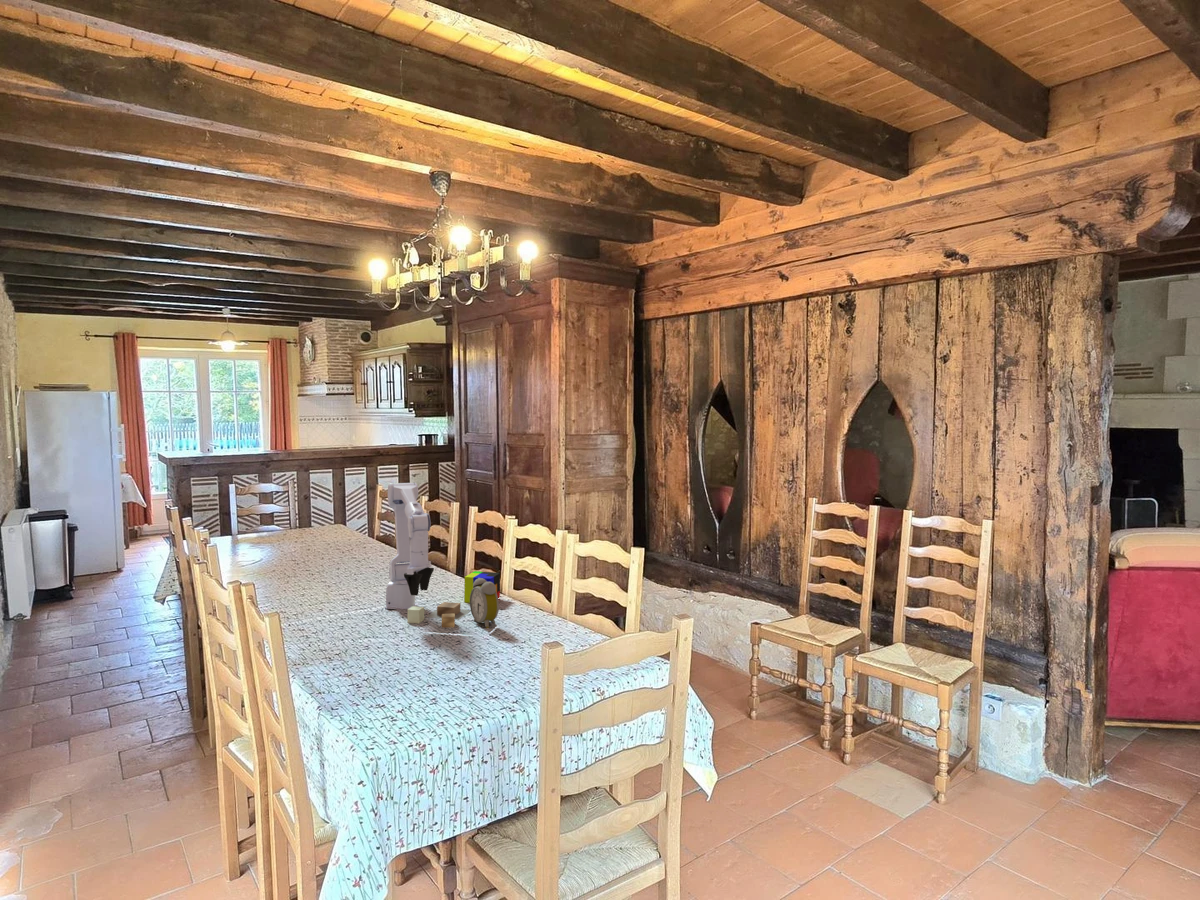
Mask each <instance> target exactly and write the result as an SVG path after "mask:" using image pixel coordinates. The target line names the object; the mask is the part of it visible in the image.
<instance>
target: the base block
mask: <svg viewBox="0 0 1200 900" xmlns="http://www.w3.org/2000/svg"><path fill="white" fill-rule="evenodd" d="M460 609H461V603H460V602H451V601H450V602H447V601H443V602H442V603H441V604H439V605H437V607H436V610H437V615H439V616H442V614H455V615H457V614H458V613H459V612H460Z"/></svg>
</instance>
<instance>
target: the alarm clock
mask: <svg viewBox="0 0 1200 900" xmlns="http://www.w3.org/2000/svg"><path fill="white" fill-rule="evenodd" d="M469 608H470V609H469V610H471V611H470V612H471V615H472V618H473V622H477V623H483V624H484V626H485V629H489V626H490V623H492V624H495V623H496V621H495V620H496V618H497V616H498V614H499V611H500V600H498V596H497V593H496V586H495V584H494V583H492V582H487V581H486V580H485V579H483V578H478V579H476V580H475V581H474V583H473V589H472V591H471V595H470V603H469Z"/></svg>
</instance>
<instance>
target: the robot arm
mask: <svg viewBox="0 0 1200 900" xmlns="http://www.w3.org/2000/svg"><path fill="white" fill-rule="evenodd" d="M418 497H419V485H418V484H417V482H416V481H415V482H394V483H393V482H390V483H389V484H388V485H387V504H388V507H389V508H392V509H393V513H394V521H395V523H394V525H395V540H396V541H395V542H396V555H395V556H394V557H393V558H392V559H390V561H389V569H388V573H389V575H388V577H389V580H390V581H389V582H388V583H387V585H386V589H385V591H386V592H385V606H384V609H387V610H388V609H390V610H396V609H399V610H400V609H401V610H402V609H403V610H408V609H409V608H411V607H412V606H418V605H420V603H418V602H416V600H415V599H416V596H418V595H419V591H428V590H429V589H428V588H429V586H430V585H429V583H430V580H431V577H432V575H433V573H434V570H435V568H434V567H432V566H433V565H432V560H429V532H430V530H431V526H432V525H431V516H430V514H429V513H427V512H425V511H424V508H423V506H422V504H421V503H420V502H417V500H418Z"/></svg>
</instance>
